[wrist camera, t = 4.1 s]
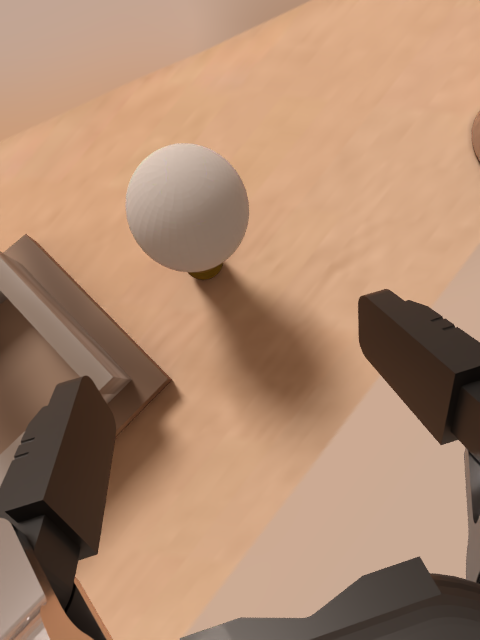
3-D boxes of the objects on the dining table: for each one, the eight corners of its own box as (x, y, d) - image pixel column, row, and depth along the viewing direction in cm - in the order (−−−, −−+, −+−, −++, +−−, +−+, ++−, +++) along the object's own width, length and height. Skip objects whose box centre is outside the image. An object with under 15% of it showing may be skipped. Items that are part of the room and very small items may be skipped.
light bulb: (181, 320, 22) (134, 262, 12) (150, 246, 23) (84, 141, 14) (261, 285, 23) (274, 203, 13) (226, 215, 24) (215, 91, 14)
